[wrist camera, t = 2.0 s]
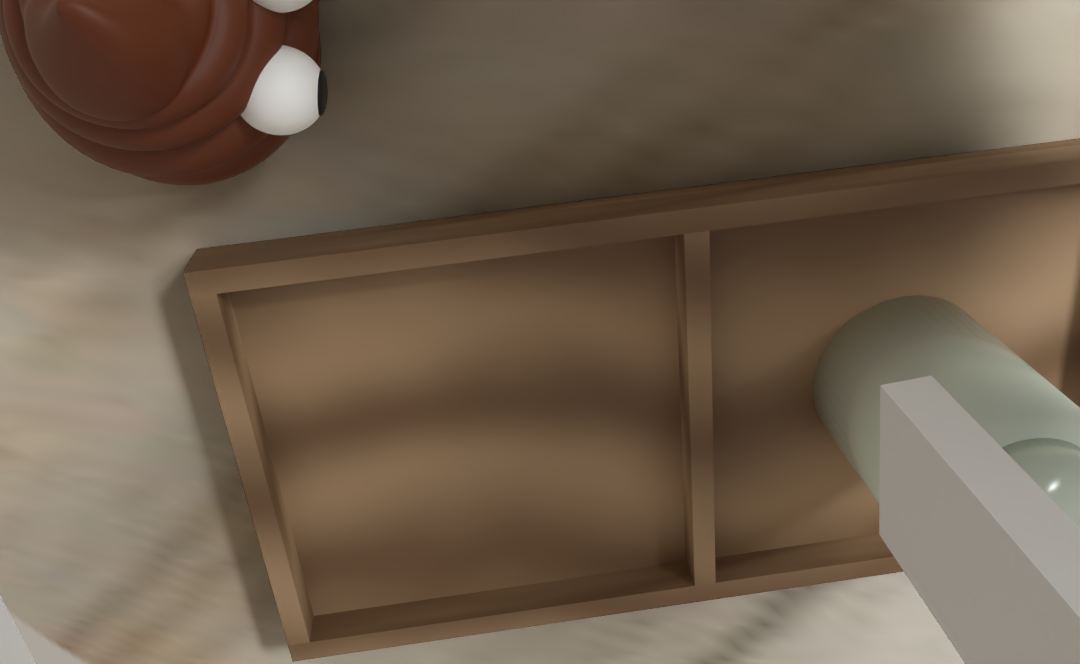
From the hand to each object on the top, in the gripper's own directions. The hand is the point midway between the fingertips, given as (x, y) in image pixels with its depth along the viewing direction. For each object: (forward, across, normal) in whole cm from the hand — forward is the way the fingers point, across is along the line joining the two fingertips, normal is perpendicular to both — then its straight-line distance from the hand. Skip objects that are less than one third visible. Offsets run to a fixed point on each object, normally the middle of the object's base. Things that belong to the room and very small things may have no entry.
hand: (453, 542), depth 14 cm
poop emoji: (+19, -6, +6) cm, 21 cm away
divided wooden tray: (+18, +7, -10) cm, 22 cm away
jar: (+18, +15, -10) cm, 25 cm away
